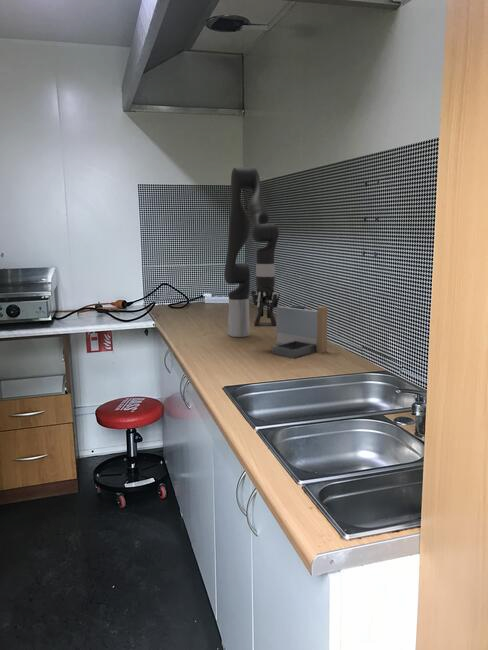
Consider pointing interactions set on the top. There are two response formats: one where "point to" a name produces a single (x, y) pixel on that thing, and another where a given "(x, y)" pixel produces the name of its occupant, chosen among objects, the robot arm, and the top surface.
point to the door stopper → (257, 320)
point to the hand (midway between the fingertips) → (265, 316)
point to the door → (302, 326)
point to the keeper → (298, 347)
